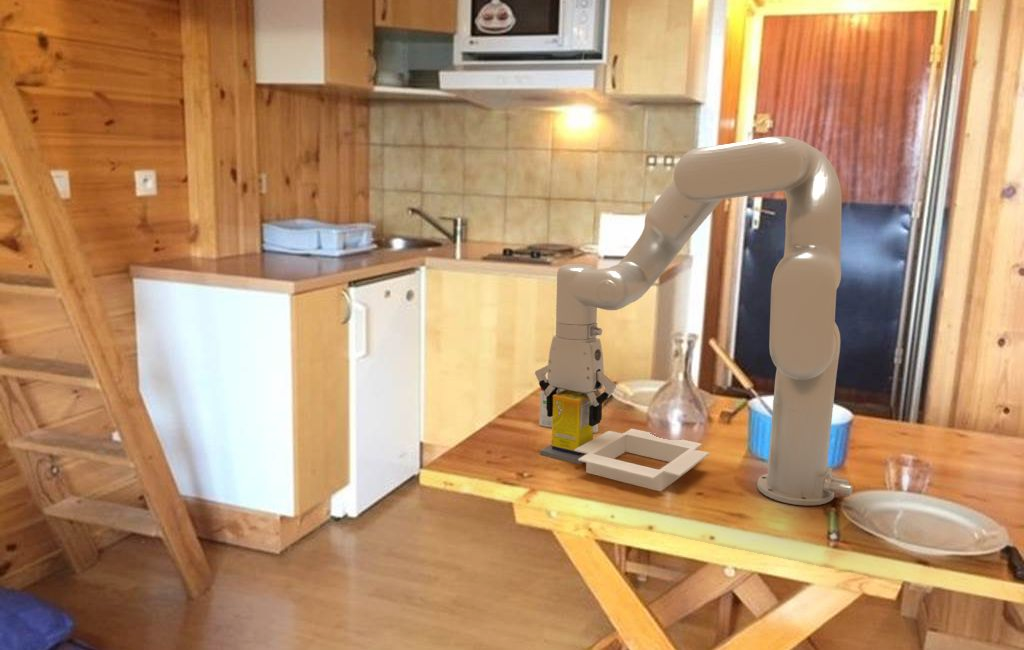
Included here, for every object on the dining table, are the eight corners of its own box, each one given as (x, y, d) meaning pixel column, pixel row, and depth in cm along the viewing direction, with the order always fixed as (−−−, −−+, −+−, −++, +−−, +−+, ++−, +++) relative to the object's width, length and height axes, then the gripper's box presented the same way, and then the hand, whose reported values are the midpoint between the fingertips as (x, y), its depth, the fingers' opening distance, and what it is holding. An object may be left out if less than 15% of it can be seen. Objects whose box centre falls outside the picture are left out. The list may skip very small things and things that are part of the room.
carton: (716, 465, 158) (717, 447, 157) (669, 501, 142) (670, 481, 141) (617, 442, 170) (617, 425, 169) (563, 473, 153) (563, 455, 152)
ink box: (538, 426, 179) (539, 358, 176) (554, 415, 186) (556, 350, 183) (554, 429, 177) (556, 360, 174) (569, 418, 184) (571, 352, 181)
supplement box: (566, 441, 168) (567, 387, 165) (593, 447, 164) (595, 392, 162) (550, 449, 163) (552, 394, 160) (578, 456, 160) (580, 400, 157)
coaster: (604, 450, 165) (604, 446, 165) (580, 464, 158) (581, 460, 157) (564, 441, 170) (564, 437, 170) (539, 454, 163) (540, 450, 162)
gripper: (627, 333, 157) (623, 423, 161) (547, 321, 167) (545, 406, 170) (607, 340, 151) (604, 434, 154) (525, 328, 161) (524, 416, 164)
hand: (573, 419), depth 162 cm, fingers open, 8 cm apart
